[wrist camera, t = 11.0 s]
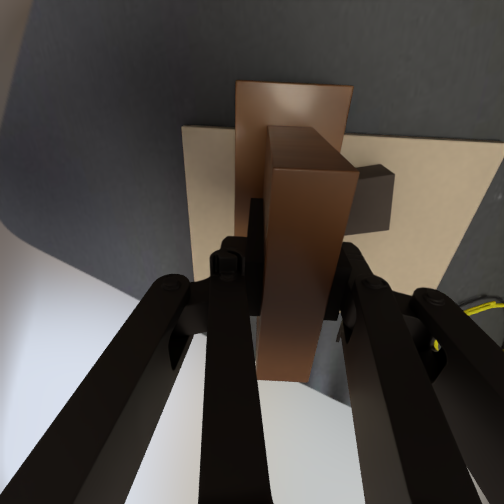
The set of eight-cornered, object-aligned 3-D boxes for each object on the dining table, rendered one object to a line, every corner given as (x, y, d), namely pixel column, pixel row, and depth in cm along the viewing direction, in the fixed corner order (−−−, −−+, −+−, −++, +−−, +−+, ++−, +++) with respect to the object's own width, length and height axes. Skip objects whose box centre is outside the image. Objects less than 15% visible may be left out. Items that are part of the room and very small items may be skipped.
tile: (198, 298, 28) (196, 305, 27) (184, 124, 19) (180, 126, 18) (417, 310, 28) (422, 317, 27) (500, 140, 19) (511, 143, 18)
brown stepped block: (305, 270, 24) (336, 408, 14) (237, 267, 24) (219, 402, 14) (338, 84, 17) (453, 92, 7) (240, 79, 17) (207, 81, 7)
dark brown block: (324, 222, 22) (331, 237, 20) (322, 172, 20) (330, 183, 18) (377, 215, 21) (389, 230, 19) (381, 163, 19) (395, 173, 17)
